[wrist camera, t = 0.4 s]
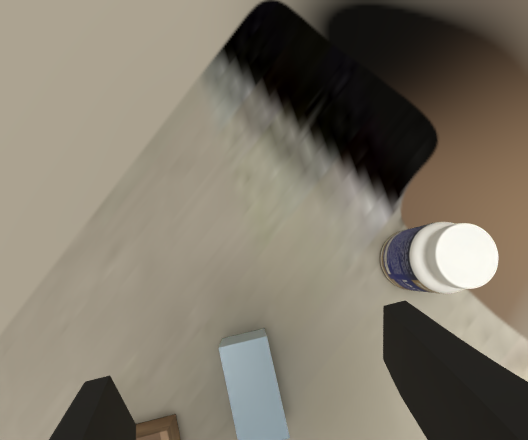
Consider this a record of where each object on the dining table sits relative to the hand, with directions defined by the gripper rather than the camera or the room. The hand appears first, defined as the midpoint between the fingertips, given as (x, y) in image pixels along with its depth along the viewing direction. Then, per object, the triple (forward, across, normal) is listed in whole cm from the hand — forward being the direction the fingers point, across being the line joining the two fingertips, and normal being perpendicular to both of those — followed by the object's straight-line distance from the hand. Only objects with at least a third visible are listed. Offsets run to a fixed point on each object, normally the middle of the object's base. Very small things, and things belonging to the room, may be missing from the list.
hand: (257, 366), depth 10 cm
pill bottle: (+21, -16, +15) cm, 30 cm away
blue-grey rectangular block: (+17, +1, +21) cm, 27 cm away
